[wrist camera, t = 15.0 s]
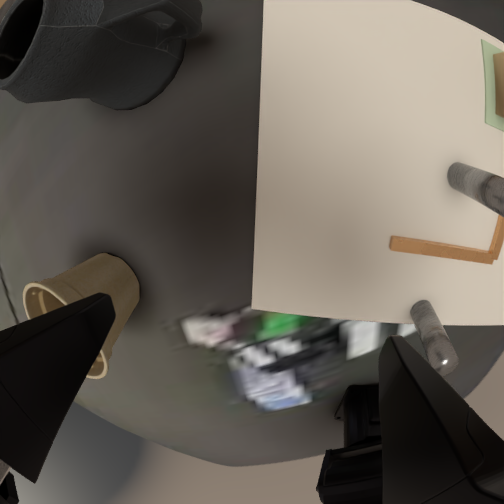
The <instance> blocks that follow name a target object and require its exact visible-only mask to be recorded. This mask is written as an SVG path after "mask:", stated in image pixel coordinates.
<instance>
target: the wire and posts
mask: <svg viewBox="0 0 504 504" xmlns="http://www.w3.org/2000/svg"><path fill="white" fill-rule="evenodd" d="M447 179H448V183H449V185H450V186H451V187H452V188H453V189H455V190H457V191H459V192H460V193H462V194H464V195H466V196H468V197H470V198H472V199H473V200H475V201H477V202H479V203H480V204H482V205H484V206H486V207H487V208H489V209H491V210H492V211H494V212H496V213H497V214H499V216H498V220H497V224H496V228H495V231H494V235H493V239H492V242H491V245H490V248H489V251H487V250H481V249H476V248H470V247H464V246H458V245H452V244H446V243H440V242H434V241H427V240H421V239H414V238H407V237H400V236H393V235H392V236H391V240H390V244H389V248H390V250H391V251H397V252H404V253H412V254H420V255H427V256H435V257H442V258H449V259H456V260H463V261H470V262H477V263H484V264H491V265H492V264H493V261H494V260H498V257H499V254H500V251H501V247H502V244H503V241H504V178H503V177H501V176H498V175H495V174H493V173H490V172H487V171H484V170H482V169H479V168H476V167H473V166H470V165H467V164H464V163H460V162H455V163H453V164H452V165H451V166H450V167H449V169H448V172H447ZM410 315H411V317H412V320H413V322H414V325H415V327H416V329H417V332H418V334H419V337H420V339H421V342H422V345H423V347H424V350H425V352H426V355H427V358H428V361H429V363H430V365H431V366H432V367H433V368H434V369H435V370H436V371H437V372H438V373H439V374H440V375H441V376H444V375H447V374H449V373H450V372H451V371H453V370H454V369H455V368H456V366H457V365H458V362H459V359H458V357H457V355H456V352H455V350H454V348H453V346H452V344H451V342H450V340H449V338H448V336H447V334H446V332H445V330H444V328H443V326H442V324H441V322H440V320H439V318H438V316H437V314H436V312H435V310H434V309H433V307H432V305H431V303H430V302H429V301H428V300H420V301H418V302H416V303H415V304H414V305H413V306H412V308H411V310H410Z"/></svg>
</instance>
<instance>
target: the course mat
mask: <svg viewBox="0 0 504 504" xmlns="http://www.w3.org/2000/svg"><path fill="white" fill-rule="evenodd" d="M501 52H504V43H503V42H501V41H499V40H498V39H496V38H494V37H492V36H491V35H489V34H487V33H485V32H484V31H482V30H480V29H478V28H476V27H474V26H472V25H470V24H468V23H466V22H464V21H462V20H460V19H458V18H455V17H453V16H451V15H448V14H446V13H444V12H441V11H439V10H436V9H434V8H431V7H428V6H425V5H423V4H420V3H417V2H414V1H411V0H264V11H263V38H262V65H261V91H260V117H259V143H258V168H257V192H256V217H255V241H254V265H253V289H252V309H256V310H264V311H271V312H279V313H288V314H296V315H305V316H314V317H324V318H334V319H346V320H358V321H371V322H386V323H404V324H414V322H413V320H412V317H411V315H410V310H411V308H412V306H413V305H414V304H415V303H416V302H418V301H420V300H428V301H429V302H430V303H431V305H432V307H433V309H434V310H435V312H436V314H437V316H438V318H439V320H440V322H441V324H442V325H504V241H503V244H502V247H501V251H500V254H499V257H498V260H494V261H493V264H492V265H491V264H484V263H477V262H470V261H463V260H456V259H449V258H442V257H435V256H427V255H420V254H412V253H404V252H397V251H391V250H390V248H389V244H390V240H391V236H392V235H393V236H400V237H407V238H414V239H421V240H427V241H434V242H440V243H446V244H452V245H458V246H464V247H470V248H476V249H481V250H487V251H489V248H490V245H491V242H492V239H493V235H494V231H495V228H496V224H497V220H498V216H499V214H497V213H496V212H494V211H492V210H491V209H489V208H487V207H486V206H484V205H482V204H480V203H479V202H477V201H475V200H473V199H472V198H470V197H468V196H466V195H464V194H462V193H460V192H459V191H457V190H455V189H453V188H452V187H451V186H450V185H449V183H448V179H447V172H448V169H449V167H450V166H451V165H452V164H453V163H455V162H460V163H464V164H467V165H470V166H473V167H476V168H479V169H482V170H484V171H487V172H490V173H493V174H495V175H498V176H501V177H503V178H504V118H502V117H500V116H498V115H496V114H495V107H496V100H495V74H494V62H493V54H497V53H501Z"/></svg>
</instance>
